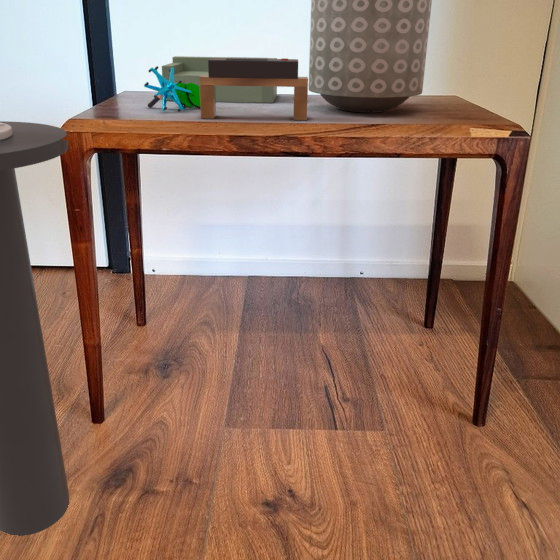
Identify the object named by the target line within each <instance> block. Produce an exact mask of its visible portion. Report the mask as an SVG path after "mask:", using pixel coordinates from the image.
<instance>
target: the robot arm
mask: <svg viewBox="0 0 560 560" xmlns="http://www.w3.org/2000/svg"><path fill="white" fill-rule="evenodd" d="M12 134H13V133H12V127H11V126H10V125H8V124H4V123H0V141H1V140H4V139H7V138H9V137H11V136H12Z"/></svg>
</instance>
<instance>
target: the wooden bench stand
mask: <svg viewBox="0 0 560 560" xmlns="http://www.w3.org/2000/svg"><path fill="white" fill-rule="evenodd" d="M199 82H200V107H201V108H200V119H203V120H204V119H205V120H206V119H207V120H208V119H209V120H210V119H211V120H215V118H216V117H217V102H216V87H215V86H273V87H277V88H281V87H282V88H285V87H286V88H293V121H307V120H308V99H309V98H308V97H309V95H308V94H309V76H298V79H269V78H209V75H202V76H200V77H199Z"/></svg>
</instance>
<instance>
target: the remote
mask: <svg viewBox="0 0 560 560" xmlns="http://www.w3.org/2000/svg"><path fill="white" fill-rule="evenodd" d="M227 57H228V58H212V59H210V60H208V74H209V78H269V79H298V77H299V59H295V58H286V57H285V58H277V59H268V58H269V57H243V56H242V57H240V56H239V57H238V56H227Z"/></svg>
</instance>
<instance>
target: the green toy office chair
mask: <svg viewBox="0 0 560 560" xmlns="http://www.w3.org/2000/svg"><path fill="white" fill-rule="evenodd" d="M158 69H160V68H159V66H158V65H156V66H155V67H151V68H149V69H148V73H151V72H152V73H153V75H155V76H156V79H157V81H158V83H159V86H160V87H159V86H156V85H152V84H150V83H149V82H148V81H147V82H145V83H144V84H143V87H144V88H147V89H148V90H149V89H150V90H153V91H156V93H155V94H154V95H153V99H151V100H150V101H149V102H148V103H147V107H148V108H149V109H152V108H153V107H154V106H155V105H156V104H158V102H160V100H162V104H161V105H162V106H161V108H162V109H161V111H162V112H165V111H166V110H167V109H168V107H167V102H168V101H167V96H168V97H169V98H170V99H171V100H173V101H172V102H174V103H175V104H176V105H177V107H178V109H177V112H178V113H180V112H182V111H183V110H185V109H186V108H187V109H193V108H197V109H201V107H200V87H199V86H198V85H196V84H194V83H188V84H185V83H182V81H179V82H178V83H176V84H175V83H174V82H173V81H174V68H173V67H172V68H171V69H170V70H169V72H170V78H169V82H168V81H167V80H166V79H165V78H164V77H163V76H162V74H161V73H160V72H159V70H158ZM165 85H166V86H165ZM170 91H171V93H172V94H171V93H170Z"/></svg>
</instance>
